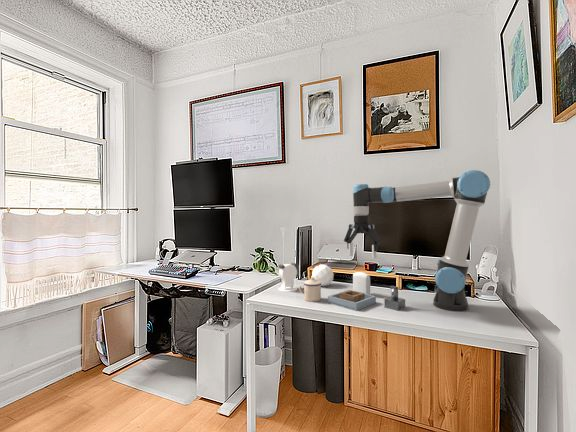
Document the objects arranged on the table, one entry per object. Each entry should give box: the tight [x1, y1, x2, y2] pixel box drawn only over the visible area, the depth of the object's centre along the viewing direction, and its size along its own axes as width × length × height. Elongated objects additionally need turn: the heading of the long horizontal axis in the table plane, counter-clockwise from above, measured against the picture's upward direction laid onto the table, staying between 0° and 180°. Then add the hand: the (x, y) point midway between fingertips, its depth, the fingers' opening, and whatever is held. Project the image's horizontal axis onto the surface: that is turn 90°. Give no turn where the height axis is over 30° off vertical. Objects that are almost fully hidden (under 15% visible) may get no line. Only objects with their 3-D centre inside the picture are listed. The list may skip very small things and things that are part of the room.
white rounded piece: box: [277, 262, 298, 293], centre depth 187 cm, size 12×11×15 cm
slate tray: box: [327, 289, 377, 312], centre depth 159 cm, size 17×17×4 cm
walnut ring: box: [338, 289, 365, 302], centre depth 160 cm, size 10×9×4 cm
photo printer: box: [352, 271, 371, 295], centre depth 175 cm, size 10×4×12 cm, turn 39°
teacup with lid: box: [298, 276, 322, 303], centre depth 167 cm, size 12×9×12 cm
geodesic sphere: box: [311, 263, 335, 287], centre depth 195 cm, size 14×14×14 cm
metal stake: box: [384, 285, 406, 311], centre depth 152 cm, size 7×7×10 cm
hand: (362, 256), depth 160 cm, fingers open, 13 cm apart
